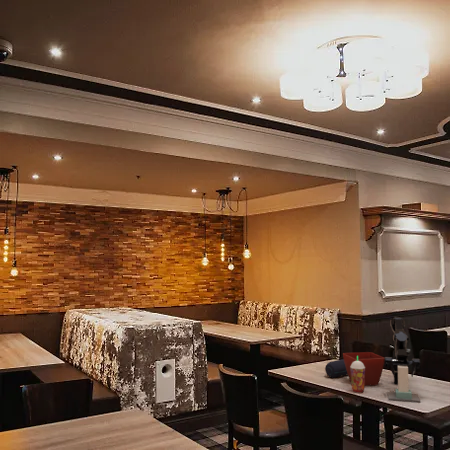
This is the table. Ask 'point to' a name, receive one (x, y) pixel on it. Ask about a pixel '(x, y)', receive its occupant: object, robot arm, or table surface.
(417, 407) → the table surface
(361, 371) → the smoothie
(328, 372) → the portable speaker
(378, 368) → the plant pot
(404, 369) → the cream pillar
